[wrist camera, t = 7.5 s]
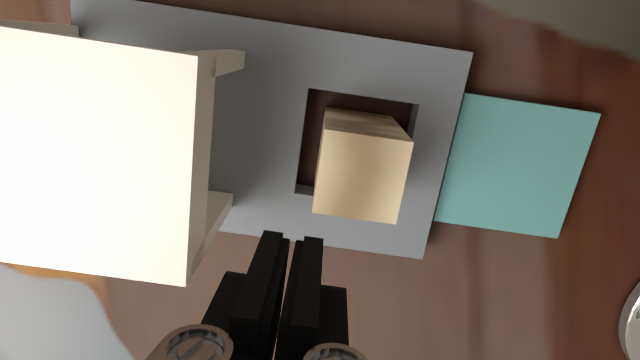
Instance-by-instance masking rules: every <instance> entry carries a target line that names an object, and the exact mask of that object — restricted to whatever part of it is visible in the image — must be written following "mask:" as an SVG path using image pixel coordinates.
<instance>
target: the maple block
mask: <svg viewBox="0 0 640 360" xmlns="http://www.w3.org/2000/svg"><path fill="white" fill-rule="evenodd" d="M413 145H414V142H413V141H412V139H411V138H410V137H409V136H408V135H407V134H406V132H405V131H404V130H403V129H402V128H401V127H400V125H399V124H398V123H397V122H396V121H395V120H394V119H393V117H392V116H388V115H381V114H375V113H368V112H361V111H354V110H348V109H341V108H334V107H328V106H325V113H324V120H323V126H322V133H321V140H320V147H319V153H318V160H317V167H316V175H315V186H314V196H313V206H312V213H317V214H324V215H331V216H338V217H345V218H352V219H359V220H366V221H373V222H381V223H388V224H395V225H396V223H397V218H398V213H399V209H400V204H401V200H402V195H403V191H404V186H405V181H406V177H407V172H408V168H409V163H410V159H411V154H412V149H413Z"/></svg>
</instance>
